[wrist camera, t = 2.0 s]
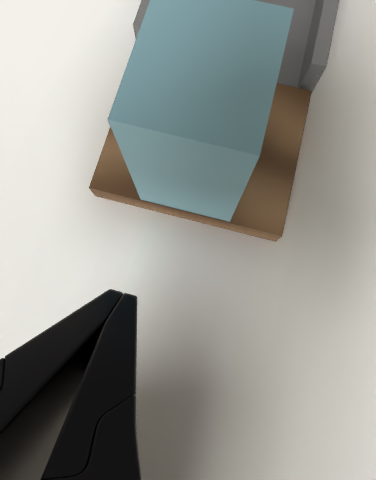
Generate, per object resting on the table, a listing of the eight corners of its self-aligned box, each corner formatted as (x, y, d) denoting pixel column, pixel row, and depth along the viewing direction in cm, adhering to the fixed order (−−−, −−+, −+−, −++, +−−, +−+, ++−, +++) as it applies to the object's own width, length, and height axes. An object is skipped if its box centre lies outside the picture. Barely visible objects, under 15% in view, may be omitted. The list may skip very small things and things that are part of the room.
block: (229, 221, 21) (259, 155, 12) (140, 199, 21) (107, 119, 13) (252, 127, 22) (294, 8, 14) (169, 108, 23) (157, -21, 14)
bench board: (275, 241, 22) (282, 236, 21) (95, 195, 23) (89, 187, 22) (304, 104, 25) (311, 90, 23) (139, 66, 25) (136, 51, 24)
